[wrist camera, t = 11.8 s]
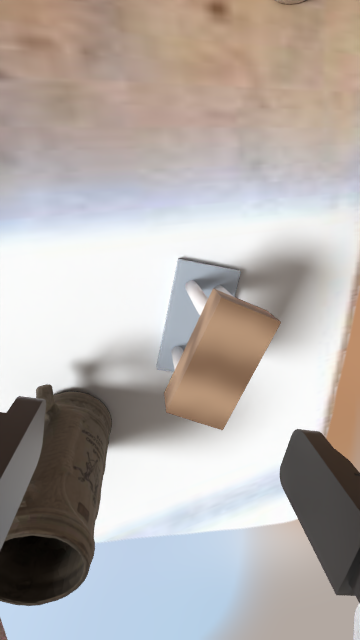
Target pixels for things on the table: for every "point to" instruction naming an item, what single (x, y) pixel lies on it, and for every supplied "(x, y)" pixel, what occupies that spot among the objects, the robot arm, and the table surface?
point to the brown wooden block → (219, 359)
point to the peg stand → (190, 305)
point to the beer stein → (58, 503)
